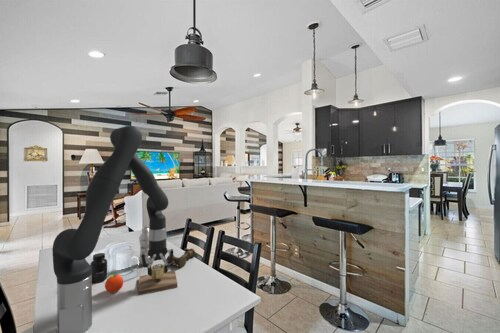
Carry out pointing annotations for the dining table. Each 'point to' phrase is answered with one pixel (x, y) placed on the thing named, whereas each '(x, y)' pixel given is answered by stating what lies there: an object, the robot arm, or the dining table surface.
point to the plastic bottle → (144, 244)
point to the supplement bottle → (99, 268)
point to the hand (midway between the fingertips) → (157, 273)
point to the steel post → (158, 268)
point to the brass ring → (157, 271)
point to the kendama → (182, 258)
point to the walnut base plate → (157, 283)
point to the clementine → (114, 283)
